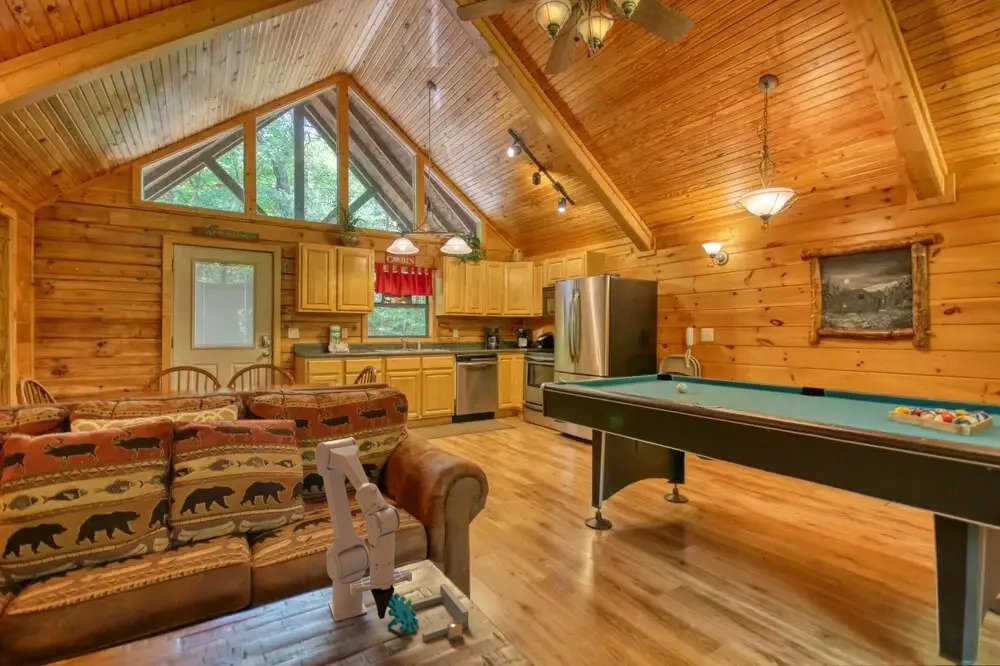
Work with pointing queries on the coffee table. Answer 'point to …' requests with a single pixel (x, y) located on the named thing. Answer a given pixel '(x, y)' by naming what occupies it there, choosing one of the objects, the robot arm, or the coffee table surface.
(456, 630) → the bushing
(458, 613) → the cradle
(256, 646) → the coffee table surface
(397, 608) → the gear
